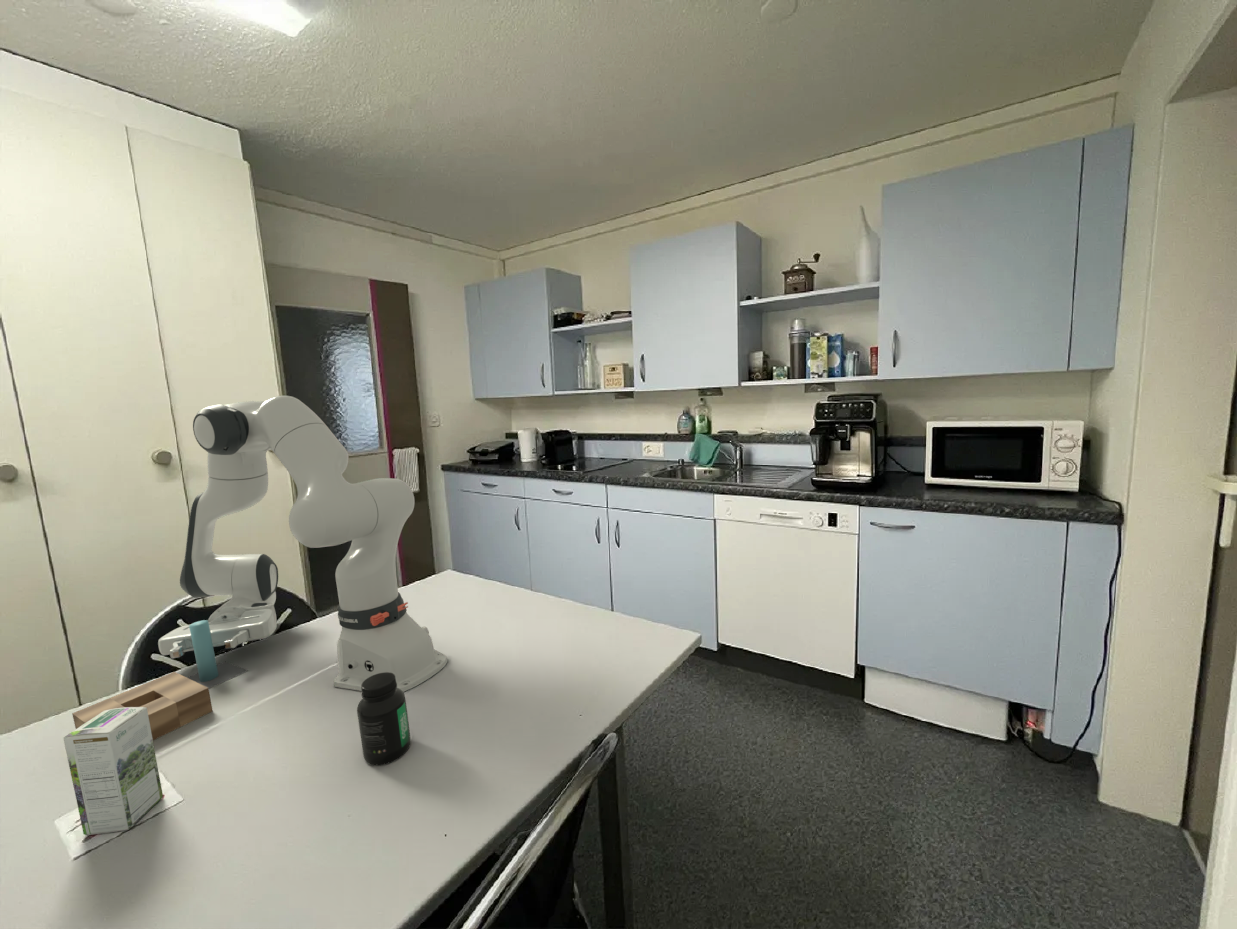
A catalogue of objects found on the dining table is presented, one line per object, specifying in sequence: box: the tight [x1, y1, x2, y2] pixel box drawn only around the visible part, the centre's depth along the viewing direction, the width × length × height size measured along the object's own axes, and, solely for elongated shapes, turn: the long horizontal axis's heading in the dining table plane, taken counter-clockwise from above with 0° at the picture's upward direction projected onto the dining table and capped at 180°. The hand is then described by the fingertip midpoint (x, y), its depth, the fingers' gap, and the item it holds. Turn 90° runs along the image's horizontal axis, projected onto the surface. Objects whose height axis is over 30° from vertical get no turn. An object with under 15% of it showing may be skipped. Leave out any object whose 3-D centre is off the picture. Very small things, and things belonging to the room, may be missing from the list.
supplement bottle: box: [356, 672, 412, 766], centre depth 77 cm, size 7×7×12 cm
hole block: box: [72, 671, 214, 741], centre depth 88 cm, size 14×14×5 cm
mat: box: [186, 660, 250, 689], centre depth 103 cm, size 10×10×1 cm
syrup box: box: [63, 707, 164, 836], centre depth 67 cm, size 6×6×14 cm
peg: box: [188, 619, 218, 682], centre depth 102 cm, size 3×3×12 cm
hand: (202, 649), depth 101 cm, fingers open, 8 cm apart
